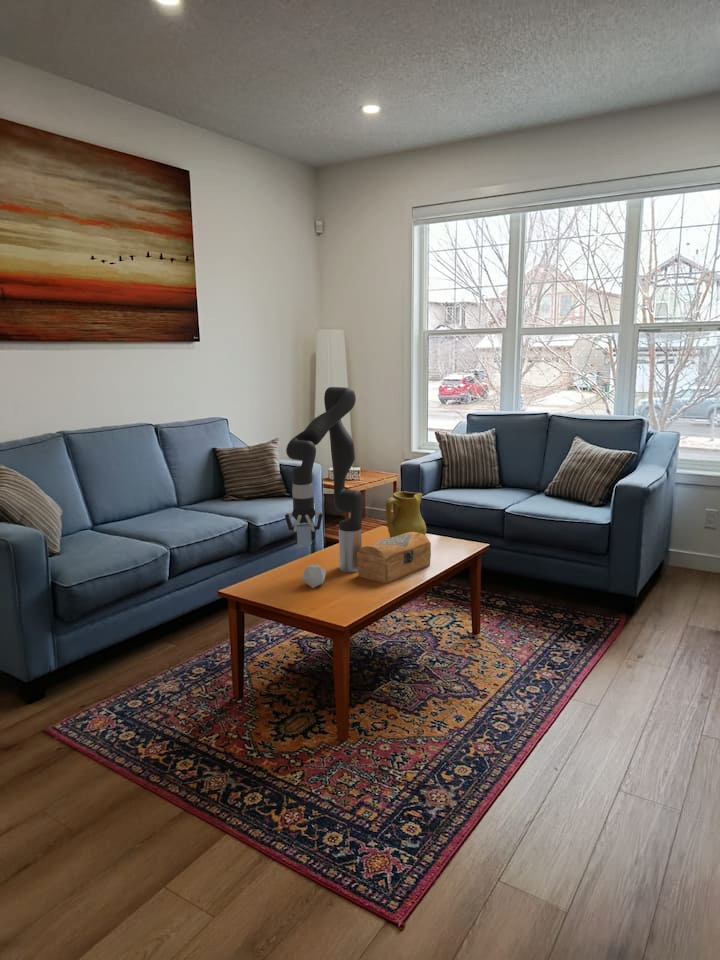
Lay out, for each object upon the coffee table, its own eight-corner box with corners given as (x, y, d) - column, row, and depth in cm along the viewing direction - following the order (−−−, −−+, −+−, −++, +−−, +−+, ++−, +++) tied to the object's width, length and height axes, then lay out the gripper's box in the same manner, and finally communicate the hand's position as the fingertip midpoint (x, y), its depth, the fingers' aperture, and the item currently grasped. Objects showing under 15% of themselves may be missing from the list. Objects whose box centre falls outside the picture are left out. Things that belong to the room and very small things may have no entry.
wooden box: (388, 585, 258) (388, 550, 255) (356, 576, 269) (355, 543, 266) (434, 567, 280) (434, 534, 277) (402, 559, 291) (402, 528, 288)
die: (322, 590, 252) (327, 585, 262) (323, 566, 252) (327, 562, 262) (300, 589, 253) (305, 584, 263) (300, 565, 253) (306, 561, 263)
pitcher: (427, 551, 301) (427, 497, 297) (385, 551, 302) (385, 497, 297) (425, 541, 318) (425, 489, 313) (385, 541, 319) (385, 489, 314)
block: (298, 541, 248) (298, 522, 247) (312, 541, 248) (311, 522, 247) (297, 545, 243) (296, 526, 242) (311, 545, 243) (310, 526, 242)
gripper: (323, 492, 246) (325, 537, 249) (284, 493, 246) (286, 538, 249) (322, 497, 238) (323, 543, 242) (281, 498, 238) (284, 544, 242)
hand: (304, 540), depth 246 cm, fingers closed on block, 5 cm apart
